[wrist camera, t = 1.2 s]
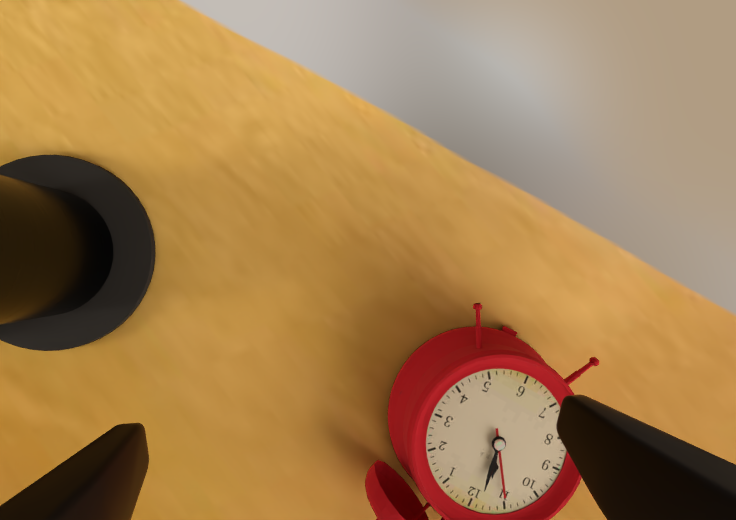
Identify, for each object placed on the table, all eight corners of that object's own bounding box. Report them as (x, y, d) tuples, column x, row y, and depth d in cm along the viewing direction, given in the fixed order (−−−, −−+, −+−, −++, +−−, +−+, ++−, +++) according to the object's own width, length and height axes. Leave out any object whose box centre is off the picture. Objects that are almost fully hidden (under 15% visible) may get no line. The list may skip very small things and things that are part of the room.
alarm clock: (635, 366, 18) (564, 717, 14) (555, 359, 24) (490, 606, 21) (456, 283, 18) (333, 626, 14) (420, 297, 24) (326, 539, 20)
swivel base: (102, 380, 20) (97, 382, 20) (-84, 299, 20) (-93, 299, 19) (188, 208, 21) (185, 207, 20) (8, 123, 20) (2, 120, 20)
